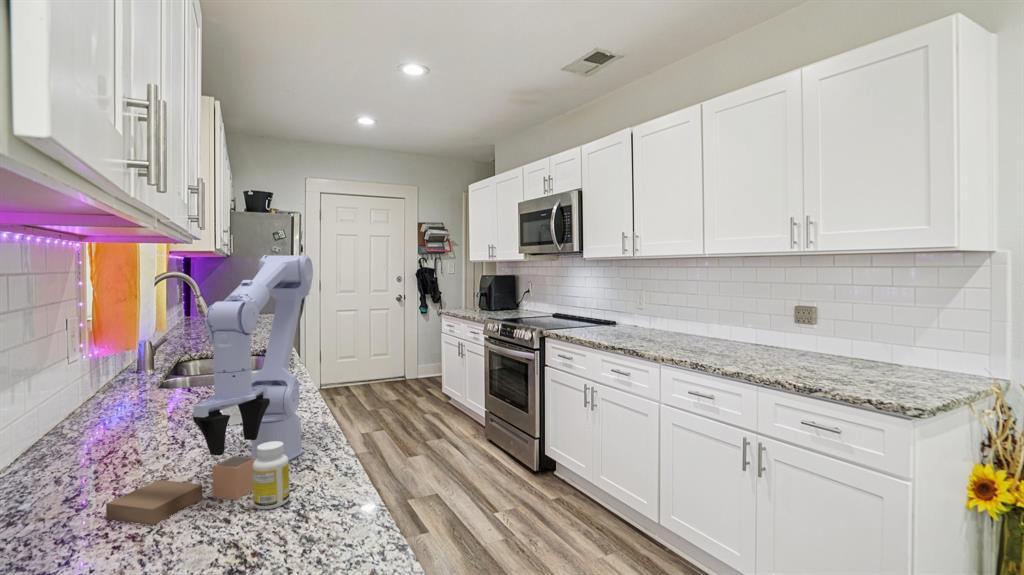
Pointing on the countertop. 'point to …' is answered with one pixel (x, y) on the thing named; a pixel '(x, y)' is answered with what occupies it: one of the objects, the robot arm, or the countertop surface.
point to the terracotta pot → (233, 477)
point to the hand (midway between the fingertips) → (234, 446)
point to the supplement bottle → (270, 476)
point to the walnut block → (154, 502)
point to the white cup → (233, 414)
